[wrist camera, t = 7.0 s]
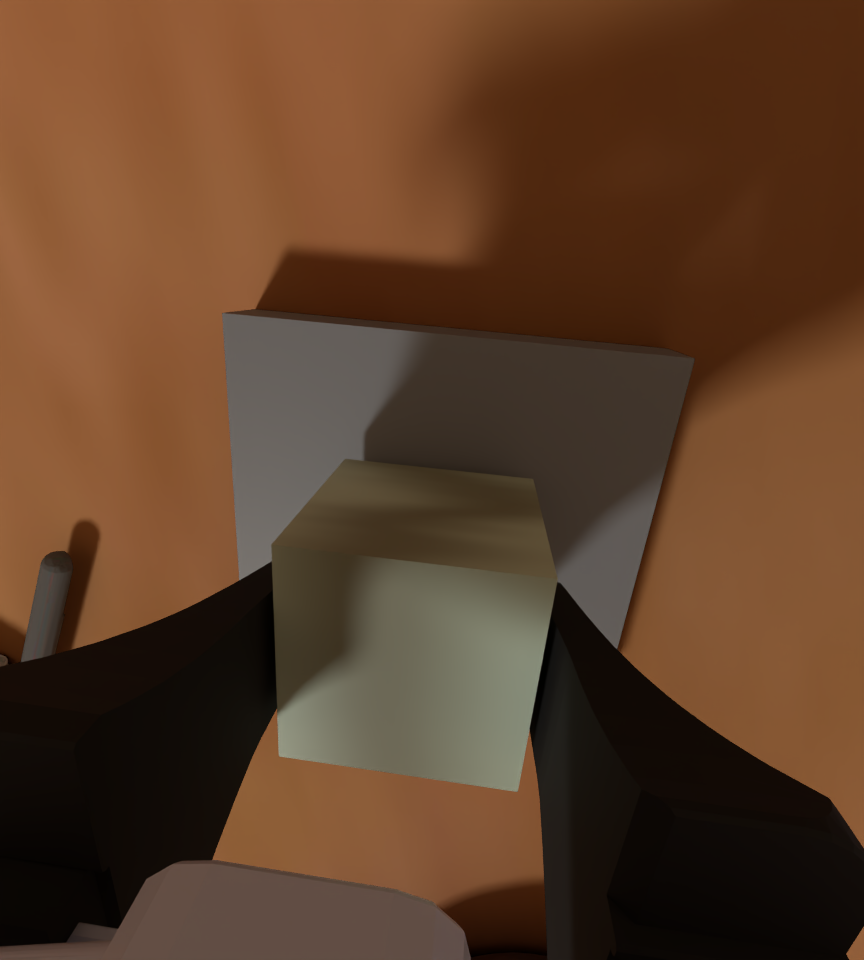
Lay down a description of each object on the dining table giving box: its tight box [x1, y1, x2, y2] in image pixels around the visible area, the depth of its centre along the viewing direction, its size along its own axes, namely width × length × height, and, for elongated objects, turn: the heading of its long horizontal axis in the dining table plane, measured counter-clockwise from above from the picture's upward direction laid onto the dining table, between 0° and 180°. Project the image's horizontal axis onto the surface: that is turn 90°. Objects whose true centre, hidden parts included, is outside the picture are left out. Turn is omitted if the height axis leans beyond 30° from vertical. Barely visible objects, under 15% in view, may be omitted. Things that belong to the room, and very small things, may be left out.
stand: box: [222, 309, 695, 649], centre depth 16 cm, size 12×12×2 cm
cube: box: [271, 459, 558, 792], centre depth 12 cm, size 5×5×5 cm
